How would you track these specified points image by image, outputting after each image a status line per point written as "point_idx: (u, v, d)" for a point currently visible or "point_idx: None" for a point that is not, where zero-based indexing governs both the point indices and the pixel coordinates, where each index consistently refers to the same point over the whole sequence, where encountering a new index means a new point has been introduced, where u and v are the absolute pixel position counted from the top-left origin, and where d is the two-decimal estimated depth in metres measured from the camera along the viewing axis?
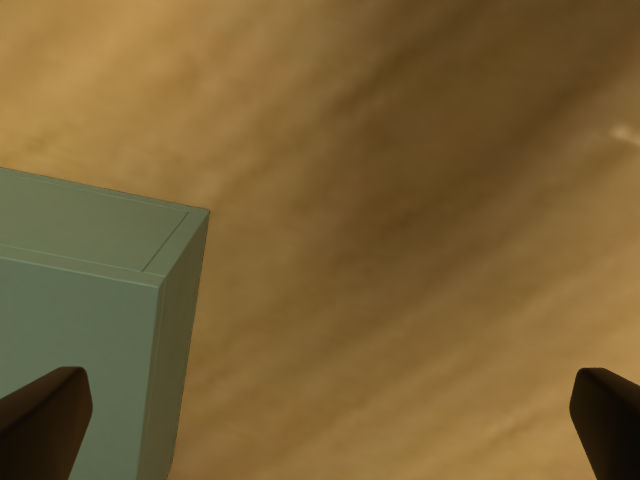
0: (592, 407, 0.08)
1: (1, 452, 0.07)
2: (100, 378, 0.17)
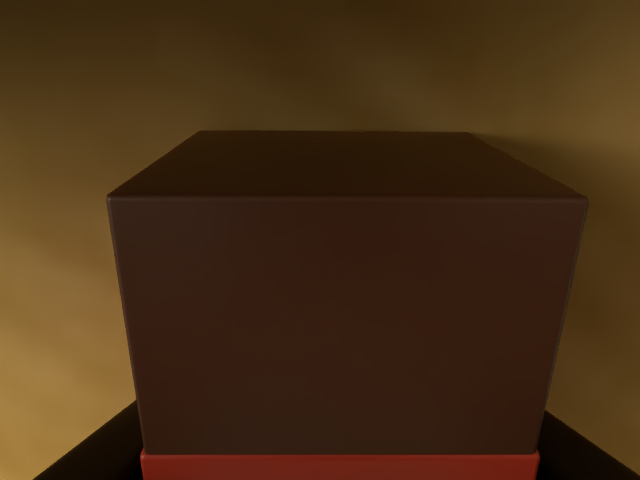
0: None
1: None
2: None
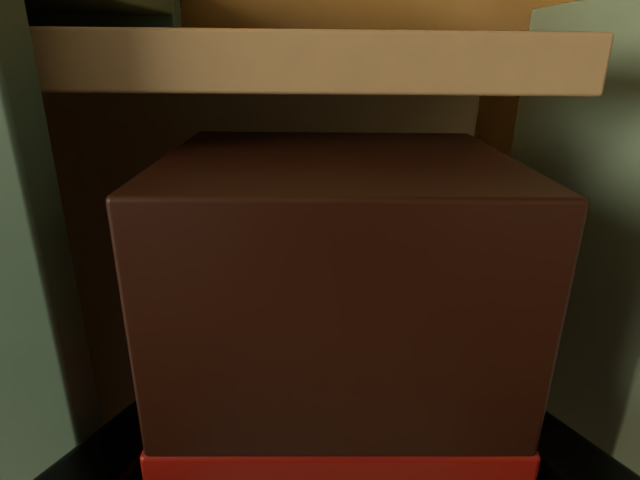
0: None
1: None
2: None
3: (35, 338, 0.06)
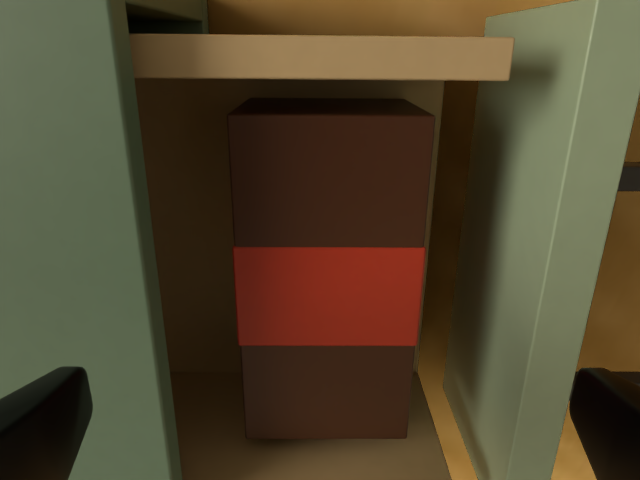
0: (592, 407, 0.08)
1: (1, 452, 0.07)
2: None
3: (126, 243, 0.10)
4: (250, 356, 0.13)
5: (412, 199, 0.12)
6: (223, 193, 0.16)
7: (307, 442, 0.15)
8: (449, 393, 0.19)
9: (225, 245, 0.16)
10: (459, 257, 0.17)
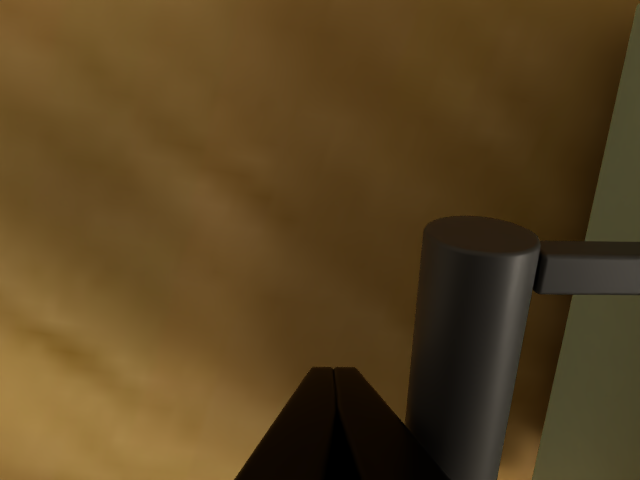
0: None
1: (331, 452, 0.07)
2: None
3: None
4: None
5: None
6: None
7: None
8: None
9: None
10: None
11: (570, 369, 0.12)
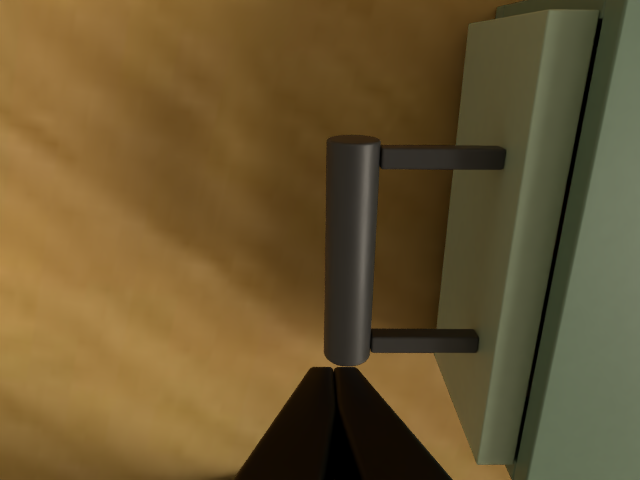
0: None
1: (330, 452, 0.07)
2: None
3: (560, 364, 0.14)
4: None
5: None
6: None
7: None
8: None
9: None
10: None
11: (448, 252, 0.19)
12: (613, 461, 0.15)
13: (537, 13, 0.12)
